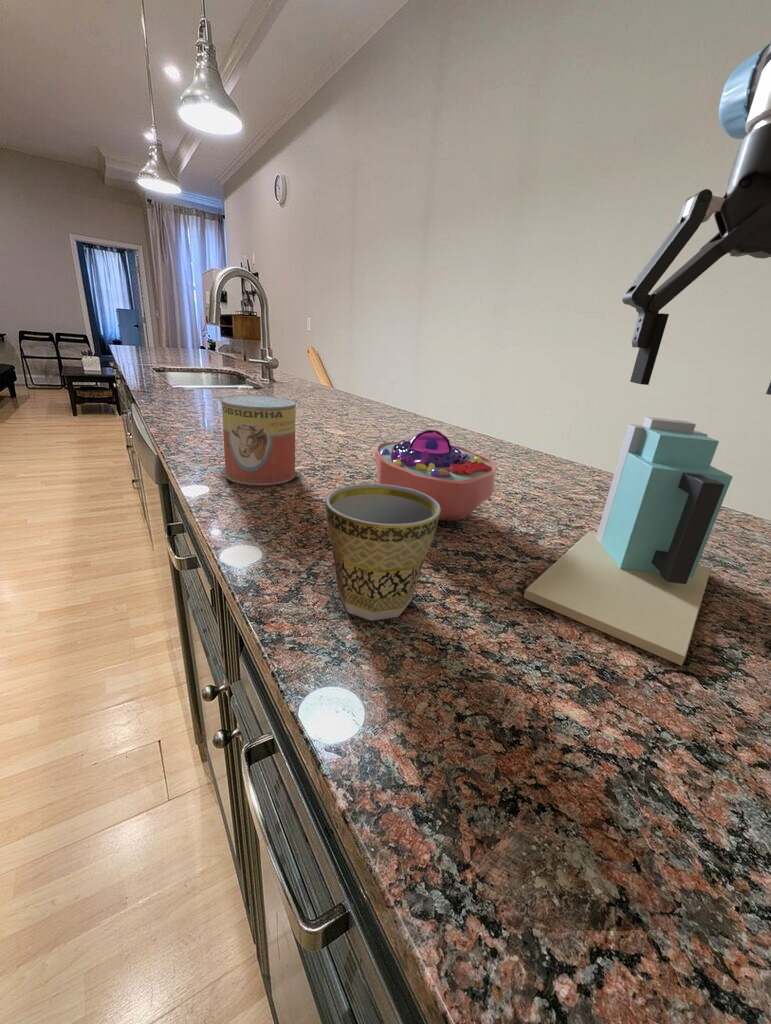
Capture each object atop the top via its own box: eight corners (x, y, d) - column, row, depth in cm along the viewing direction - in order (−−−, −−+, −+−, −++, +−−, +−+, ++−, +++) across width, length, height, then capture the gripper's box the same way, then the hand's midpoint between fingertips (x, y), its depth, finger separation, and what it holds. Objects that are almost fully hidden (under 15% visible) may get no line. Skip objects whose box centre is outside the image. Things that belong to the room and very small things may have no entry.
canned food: (213, 481, 69) (208, 402, 64) (238, 462, 79) (236, 392, 75) (286, 488, 69) (286, 409, 64) (301, 467, 79) (302, 399, 75)
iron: (630, 415, 53) (684, 437, 41) (701, 422, 52) (776, 446, 41) (595, 537, 59) (634, 586, 47) (658, 545, 58) (712, 596, 47)
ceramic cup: (402, 647, 36) (416, 536, 33) (300, 609, 40) (301, 505, 36) (449, 578, 47) (463, 489, 44) (366, 553, 51) (372, 469, 47)
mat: (587, 536, 61) (589, 530, 61) (708, 575, 53) (711, 568, 53) (523, 597, 45) (524, 589, 45) (681, 666, 37) (685, 656, 37)
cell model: (369, 538, 55) (376, 448, 51) (369, 485, 73) (374, 416, 69) (504, 546, 56) (522, 459, 52) (470, 493, 74) (482, 425, 70)
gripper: (913, 154, 40) (810, 396, 48) (625, 139, 42) (572, 375, 50) (1013, 116, 33) (873, 406, 41) (663, 100, 35) (594, 381, 43)
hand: (707, 390), depth 45 cm, fingers open, 13 cm apart
